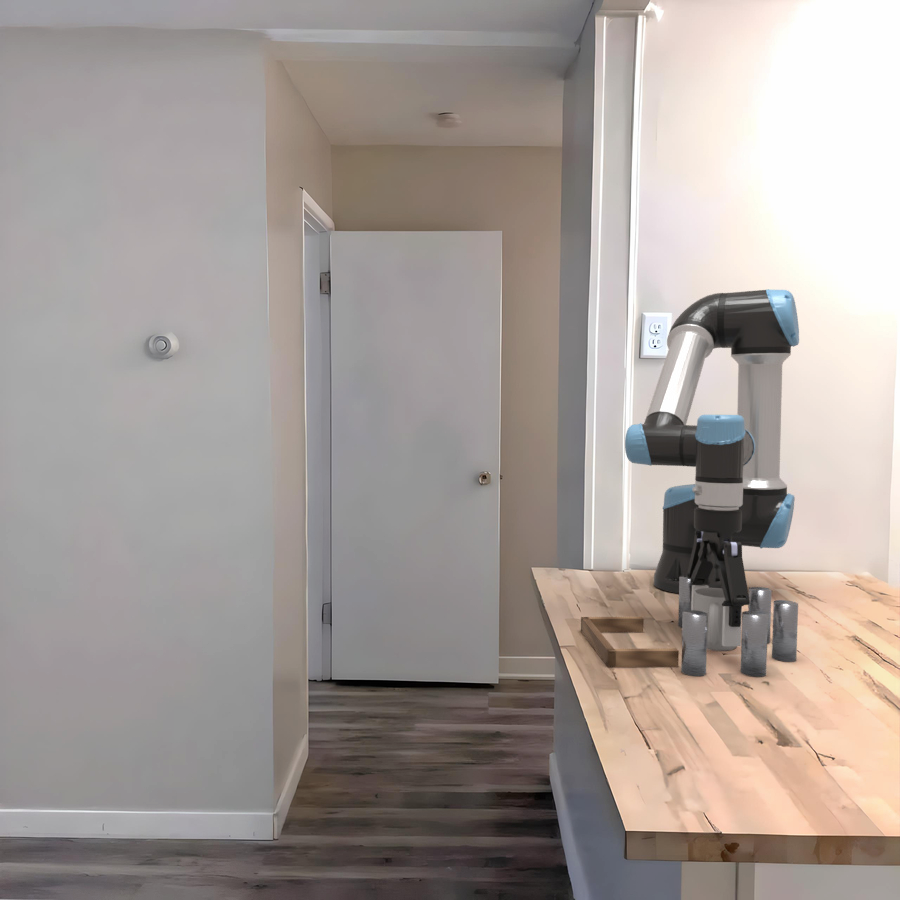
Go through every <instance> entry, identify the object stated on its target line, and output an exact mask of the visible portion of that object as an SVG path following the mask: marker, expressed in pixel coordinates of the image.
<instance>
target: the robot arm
mask: <svg viewBox="0 0 900 900" xmlns="http://www.w3.org/2000/svg"><path fill="white" fill-rule="evenodd" d="M799 328H800V327H799V319H798V313H797V306H796V302H795V297H794V295H793V293H792V292H790V291H789V290H787V289H762V290H761V289H759V290H747V291H736V292H717V293H712V294H709V295H706V296H704V297H702V298H700V299H698V300H696V301H695V302H693V303H692V304H690V305H689V306H688V307H687V308H686V309H684V310H683V312H681V313H680V315H679V316H678V317H677V318H676V319H675V321H674V322H673V323H672V326H671V327H670V330H669V332H668V335H667V338H666V345H667V346H666V347H667V348H668V350H667V354H666V357H665V360H664V362H663V365H662V368H661V371H660V375H659V377H658V380H657V384H656V386H655V389H654V393H653V396H652V399H651V402H650V404H649V408H648V410H647V414H646V416H645V419H644V423H642V422H640V423H637V424H631V425H630V426H628V428H627V430H626V434H625V437H624V439H625V441H624V449H625V454H626V457H627V460H628V461H629V462H631V463H632V464H638V465H645V466H669V467H671V466H674V467H675V466H676V467H678V466H679V467H693V468H695V477H694V478H695V479H694V481H695V483H694V484H684V485H683V484H682V485H676V486H670V487H669V488H667V489H666V490H665V492H664V497H663V506H662V510H663V511H662V512H663V516H662V517H663V518H662V519H663V520H662V525H663V526H662V551H661V555H660V557H659V560H658V563H657V566H656V568H655V572H654V575H653V586H654V587H655V588H658V589H660V590H662V591H666V592H669V593H675V594H679V577H680V576H687V578H691V579H690V582H691V584H693V585H692V600H691V610H693V599H694V590H695V589H698V588H721V589H723V593H724V597H725V601H724V602H723V603H722V606H723V628H722V645H723V646H736V647H741V639H742V612H743V607H744V606H748V605H749V603H750V600H749V588H748V583H747V578H746V573H745V572H746V571H745V566H744V560H743V546H744V547H754V548H759V549H763V548H765V549H766V548H767V549H780V548H782V547H784V546H785V544H786V543H787V541H788V537H789V534H790V530H791V526H792V519H793V515H794V510H795V499H796V497H795V495H794V494H791V493H788V484H786V483H785V481H783V479H782V478H781V476H780V475H781V474H780V469H781V468H780V467H781V466H780V465H781V434H782V433H781V430H782V429H781V428H782V427H781V426H782V397H783V396H782V391H783V386H782V385H783V364H784V362H785V361H786V360H787V359H789V358H790V356H791V355H792V354H791V353H792V348H791V347H796V346H799V343H800V329H799ZM720 348H722V349H731V350H730V353H731V354H730V357H731V358H732V359H733V360H734V361H735V362H736V363H737V364H738V370H737V372H738V373H737V374H738V375H737V413H736V414H700V416H699V417H698V418H697V421H696V425H695V424H694V425H692V424H691V425H690V424H689V425H687V423H688V419H689V415H690V412H691V409H692V405H693V401H694V398H695V395H696V391H697V387H698V384H699V381H700V377H701V373H702V370H703V366H704V363H705V360H706V358H708V357H709V356H710V355H711V353H713V350H715V349H720Z"/></svg>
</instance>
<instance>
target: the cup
mask: <svg viewBox="0 0 900 900" xmlns="http://www.w3.org/2000/svg"><path fill="white" fill-rule="evenodd" d="M724 601H725V597H724V593H723V589H721V588H698V589H695V590H694V599H693V610H695V611H702V612H705V613H707V614H708V622H707V651H716V652H727V651H729V652H730V651H732V650H735V649H736V648H737V646H723V645H722V628H723V606H722V603H723V602H724Z"/></svg>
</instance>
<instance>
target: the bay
mask: <svg viewBox="0 0 900 900" xmlns="http://www.w3.org/2000/svg"><path fill="white" fill-rule="evenodd" d="M644 620H645V619H644V617H643V616H581V617H580V632H582V634H583V635H584V637H585V638H586V640H587V639H588V640H587V641H588V643H591V644H590V645H591V646H592V648H593V647H594V648H593V649H594V650H595V652H596V651H597V652H596V653H597V655H598V656H599V657H600V658H601V660H602V661H603V663H604V664H605V666H606V667H607V668H665V667H666V668H668V667H669V668H672V667H673V668H674V667H677V668H678V667H679V661H680V659H679V656H680V655H679V654H680V652H679V651H680V650H679V649H677V648H676V647H675V648H671V647H670V648H669V647H668V648H667V647H666V648H659V647H658V648H614V647H613V646H612V644H611V643H610V642H609V640H608V639H607V638H606V637H605V636H604V635H603V634H602V633H644V625H645V624H644V623H645V621H644Z"/></svg>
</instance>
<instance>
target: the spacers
mask: <svg viewBox="0 0 900 900" xmlns="http://www.w3.org/2000/svg"><path fill="white" fill-rule="evenodd" d="M690 579H691V578H687V576H680V577H679V593H678V617H677V618H678V621H677V622H678V625H677V626H678V627H680V628H681V660H680V661H681V662H680V663H681V667H680V671H681V673H682V674H684V675H687V676H690V677H691V676H692V677H704V676H706V674H707V659H708V658H707V656H708V655H707V653H708V649H707V622H708V614H707V613H705V612H702V611H695V610H691V600H692V585H693V584H691V582H690ZM772 591H773V590H772V589H770V588H768V587H762V586H751V587H749V588H748V594H749V600H750V603H749V605H747V606H748V609H747V610H745V611H742V620H741V646H740V673H741V674H743V675H744V676H748V677H755V678H762V677H763V678H764V677H765V676H766V675H767V660H768V659H767V658H768V655H767V654H768V644H770V643H772V644H771V645H772V646H771V657H772V659H774V660H775V661H779V662H784V663H786V662H787V663H793V662H797V652H798V651H797V649H798V647H797V646H798V625H799V624H798V621H799V603H798V602H796V601H793V600H787V599H777V600H774V601H773V611H772ZM772 613H773V614H772ZM772 615H773V616H772ZM771 617H773V618H771ZM771 619H772V620H771ZM771 622H772V626H771ZM771 627H772V642H771Z"/></svg>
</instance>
